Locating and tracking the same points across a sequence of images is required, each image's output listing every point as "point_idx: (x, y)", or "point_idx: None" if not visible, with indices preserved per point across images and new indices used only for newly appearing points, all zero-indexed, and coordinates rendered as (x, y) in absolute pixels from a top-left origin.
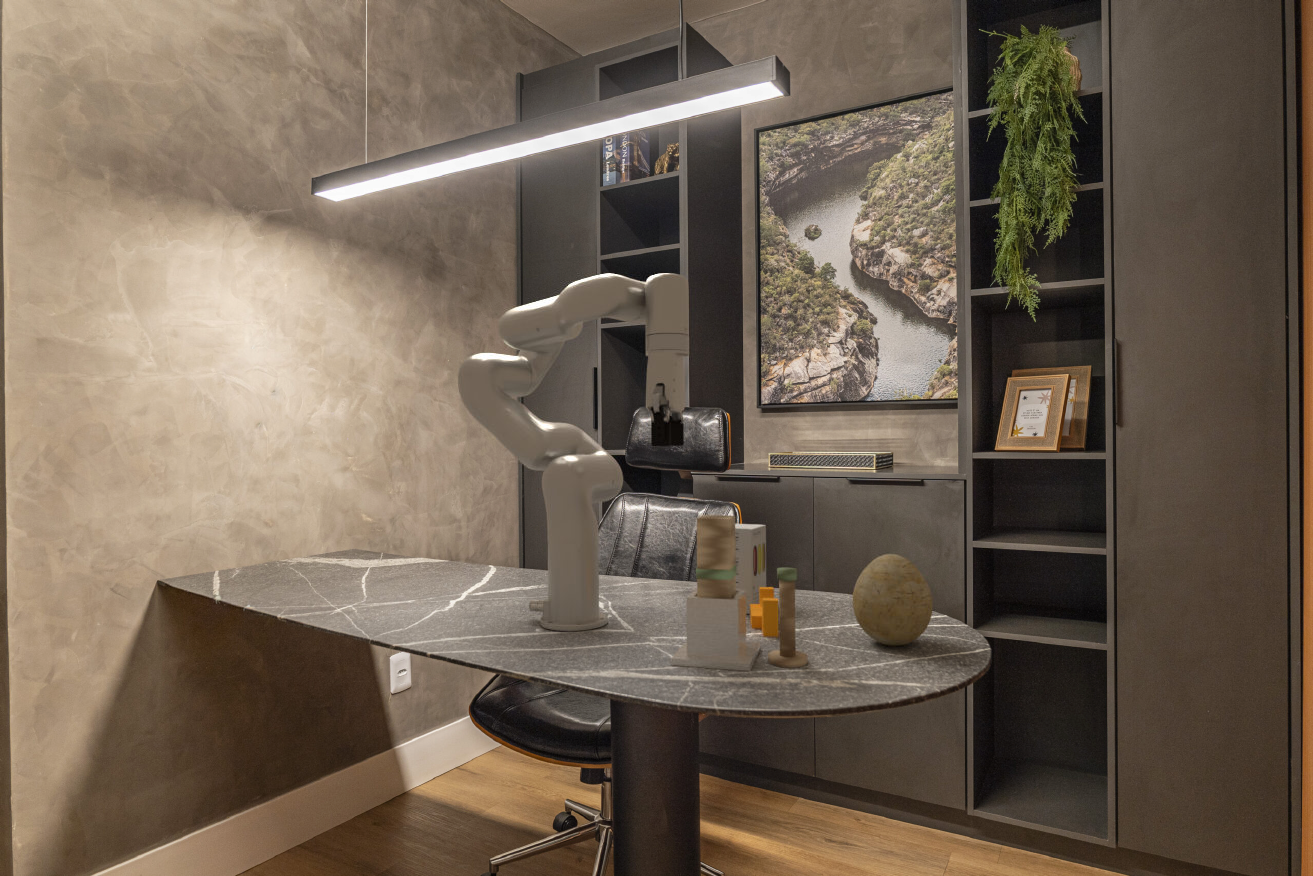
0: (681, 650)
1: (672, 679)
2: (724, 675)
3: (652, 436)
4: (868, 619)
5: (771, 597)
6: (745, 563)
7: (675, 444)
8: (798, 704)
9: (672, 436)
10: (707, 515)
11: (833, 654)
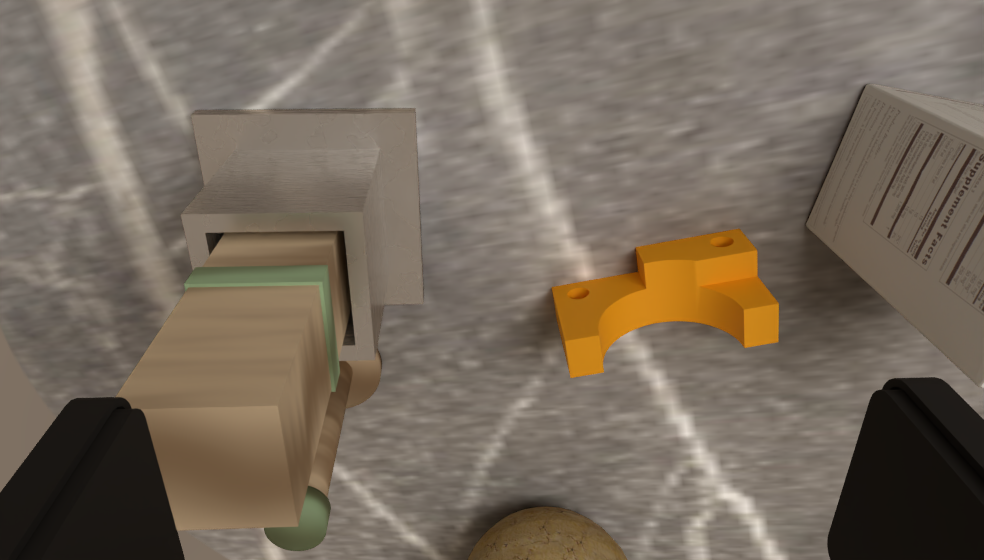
0: (280, 123)
1: (86, 141)
2: (176, 252)
3: (12, 499)
4: (479, 548)
5: (730, 328)
6: (900, 283)
7: (850, 489)
8: (64, 406)
9: (919, 546)
10: (265, 426)
11: (427, 439)
